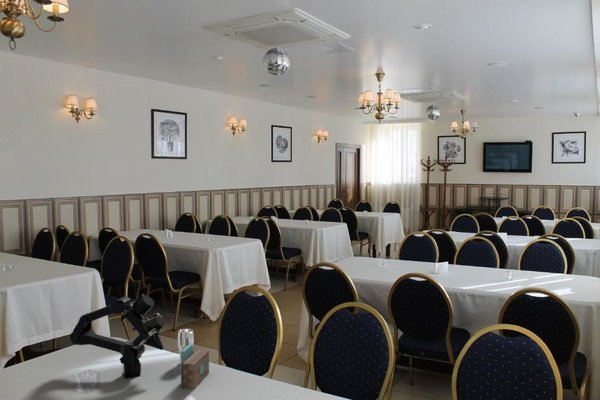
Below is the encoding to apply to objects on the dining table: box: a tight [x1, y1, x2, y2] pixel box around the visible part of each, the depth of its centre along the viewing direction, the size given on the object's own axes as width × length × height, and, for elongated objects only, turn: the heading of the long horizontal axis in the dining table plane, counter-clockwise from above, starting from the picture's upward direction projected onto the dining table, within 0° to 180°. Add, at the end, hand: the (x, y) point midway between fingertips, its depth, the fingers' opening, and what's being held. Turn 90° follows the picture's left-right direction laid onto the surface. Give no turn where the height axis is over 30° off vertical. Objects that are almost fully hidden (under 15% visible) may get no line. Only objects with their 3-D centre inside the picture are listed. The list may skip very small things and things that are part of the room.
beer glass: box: [177, 328, 195, 366], centre depth 233 cm, size 7×7×15 cm
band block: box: [180, 349, 210, 389], centre depth 215 cm, size 6×16×10 cm, turn 169°
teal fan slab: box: [180, 343, 204, 384], centre depth 215 cm, size 7×9×13 cm
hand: (162, 348), depth 218 cm, fingers closed
